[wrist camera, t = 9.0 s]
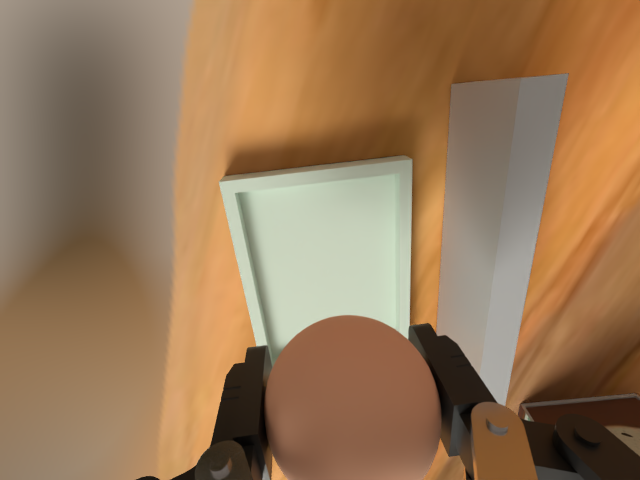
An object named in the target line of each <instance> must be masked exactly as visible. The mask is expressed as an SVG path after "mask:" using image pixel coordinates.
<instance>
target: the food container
mask: <svg viewBox="0 0 640 480" xmlns="http://www.w3.org/2000/svg"><path fill="white" fill-rule="evenodd" d="M565 414H578V415H583V416H586V417H588V418H591V419H593V420H595V421H597V422H598V423H600V424H601V425H603V426H604V427H605V428H607V429H608V430H609V431H610V432H611V433H613V434H614V435H615V436H616V437H617V438H619V439H620V440H621V441H622V442H623V443H625V444H626V445H627V446H628V447H629V448H631V449H632V450H633V451H634V452H635V453H636V454H638V455H639V456H640V396H639V395H637V394H636V393H632V394H622V395H611V396H600V397H589V398H578V399H567V400H556V401H546V402H535V403H524V404H520V407H519V412H518V417H519V418H521V419H524V420H528V421H533V422H540V423H547V424H553V425H556V422H557V420H558V418H559V417H560V416H562V415H565Z"/></svg>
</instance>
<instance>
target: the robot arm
mask: <svg viewBox="0 0 640 480" xmlns="http://www.w3.org/2000/svg"><path fill="white" fill-rule="evenodd" d="M408 340H409V341H410V342H411V343H412V344H413V345H414V346H415V348H416V349H417V350H418V351H419V352H420V354H421V355H422V357H423V358H424V360H425V362H426V363H427V365H428V366H429V368H430V371H431V373H432V376H433V378H434V380H435V383H436V386H437V390H438V394H439V398H440V404H441V418H442V422H441V434H440V438H441V440H442V442H443V445H444V447H445V449H446V451H447V454H448V456H449V457H450V456H457V455H460V457H461V460H462V462H463V464H464V480H640V456H639V455H638V454H636V453H635V452H634V451H633V450H632V449H631V448H629V447H628V446H627V445H626V444H625V443H623V442H622V441H621V440H620V439H619V438H617V437H616V436H615V435H614V434H613V433H611V432H610V431H609V430H608V429H607V428H605V427H604V426H603V425H601V424H600V423H598V422H597V421H595V420H593V419H591V418H588V417H586V416H583V415H578V414H565V415H562V416H560V417H559V418H558V420H557V422H556V425H553V424H547V423H540V422H533V421H528V420H524V419H521V418H519V417H518V416H517V415H516V414H515V413H514V412H513V411H512V410H511V409H509V408H507V407H506V406H504V405H501V404H498V402H497V401H496V400H495V398H494V397H493V395H492V394H491V392H490V391H489V390H488V388H487V387H486V385H485V384H484V382H483V381H482V379H481V378H480V376H479V375H478V373H477V372H476V370H475V369H474V367H473V366H471V363H470V362H469V360H468V359H467V357H465V354H464V353H463V351H462V350H461V348H460V347H459V345H458V344H457V343H456V342H454V341H453V340H452V339H450V338H449V337H448V336H446V335H441V336H437V334H436V333H435V331H434V329H433V328H432V326H431V325H430V324H429V323H426V324H419V325H411V326H409V329H408ZM272 368H273V367H272V362H271V358H270V353H269V349H268V346H267V345H263V346H256V347H249V348H247V352H246V358H245V363H238V364H234V365H233V367H232V368H231V370H230V371H229V373H228V374H227V375H226V379H225V384H224V388H223V389H224V391H223V393H222V397H221V402H220V406H219V410H218V415H217V419H216V424H215V428H214V433H213V437H212V442H211V445H210V447H209V448H208V449H207V450H206V451H205V452H204V453H203V454H202V456H201V457H200V459H199V460H198V463H197V465H196V466H194V467H193V468H192V469H190V470H189V471H187V472H185V473H183V474H181V475H179V476H177V477H175V478H173V479H171V480H271V474H272V451H271V448H270V445H269V442H268V439H267V435H266V428H265V421H264V398H265V391H266V386H267V382H268V379H269V376H270V373H271V370H272ZM136 480H159V479H158V478H156V477H153V476H146V477H141V478H139V479H136Z"/></svg>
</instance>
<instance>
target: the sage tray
mask: <svg viewBox="0 0 640 480" xmlns="http://www.w3.org/2000/svg"><path fill="white" fill-rule="evenodd" d="M219 185H220V189H221V193H222V198H223V202H224V206H225V211H226V215H227V219H228V224H229V228H230V232H231V237H232V241H233V245H234V250H235V254H236V258H237V263H238V267H239V271H240V276H241V280H242V284H243V289H244V293H245V297H246V302H247V306H248V310H249V315H250V319H251V323H252V328H253V332H254V336H255V341H256V345H257V346H263V345H267V346H268V349H269V353H270V358H271V362H272V367H273V365H274V364H275V362H276V360H277V358H278V356H279V355H280V353H281V351H282V350H283V349H284V348H285V346H286V345H287V344H288V343H289V342H290V340H291V339H292V338H294V337H295V336H296V335H297V334H298V333H299V332H301V331H302V330H303V329H305V328H306V327H308V326H310V325H312V324H313V323H315V322H318V321H320V320H322V319H326V318H329V317H334V316H340V315H357V316H363V317H368V318H372V319H375V320H378V321H380V322H383V323H385V324H387V325H388V326H390V327H392V328H394V329H395V330H397V331H398V332H399V333H401V334H402V335H403V336H404V337H406V338H407V339H408V329H409V326H410V274H411V217H412V159H411V158H409V157H407V156H405V155H401V156H392V157H384V158H375V159H366V160H358V161H349V162H341V163H332V164H324V165H315V166H306V167H298V168H289V169H281V170H272V171H263V172H255V173H246V174H238V175H229V176H224V177H223V178H222V179H221V180H220V181H219Z"/></svg>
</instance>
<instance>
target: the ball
mask: <svg viewBox="0 0 640 480" xmlns="http://www.w3.org/2000/svg"><path fill="white" fill-rule="evenodd" d="M264 421H265V428H266V435H267V439H268V442H269V445H270V448H271V451H272V454H273V456H274V458H275V460H276V462H277V464H278V466H279V468H280V469H281V471H282V472H283V474H284V475H285V477H286V478H287V479H288V480H423V478H424V477H425V475H426V474H427V472H428V471H429V469H430V467H431V465H432V462H433V460H434V457H435V455H436V452H437V449H438V444H439V440H440V434H441V422H442V418H441V404H440V398H439V394H438V390H437V386H436V383H435V380H434V378H433V376H432V373H431V371H430V368H429V366H428V365H427V363H426V362H425V360H424V358H423V357H422V355H421V354H420V352H419V351H418V350H417V349H416V348H415V346H414V345H413V344H412V343H411V342H410V341H409V340H408V339H407V338H406V337H404V336H403V335H402V334H401V333H399V332H398V331H397V330H395V329H394V328H392V327H390V326H388V325H387V324H385V323H383V322H380V321H378V320H375V319H372V318H368V317H363V316H357V315H340V316H334V317H329V318H326V319H322V320H320V321H318V322H315V323H313V324H312V325H310V326H308V327H306V328H305V329H303V330H302V331H301V332H299V333H298V334H297V335H296V336H295V337H294V338H292V339H291V340H290V342H289V343H288V344H287V345H286V346H285V348H284V349H283V350H282V351H281V353H280V355H279V356H278V358H277V360H276V362H275V364H274V365H273V368H272V370H271V373H270V376H269V379H268V382H267V386H266V391H265V398H264Z"/></svg>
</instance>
